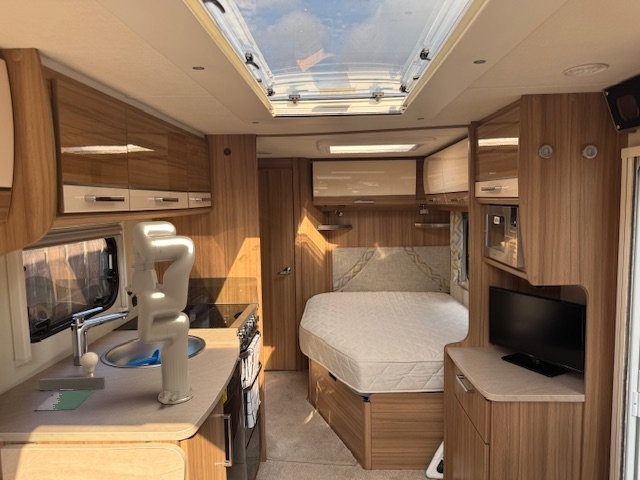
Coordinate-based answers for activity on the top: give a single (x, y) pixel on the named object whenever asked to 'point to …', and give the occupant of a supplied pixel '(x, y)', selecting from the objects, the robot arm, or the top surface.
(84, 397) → the mat
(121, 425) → the top surface
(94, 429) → the top surface
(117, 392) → the top surface
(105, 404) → the top surface
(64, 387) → the low wall
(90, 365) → the lightbulb
